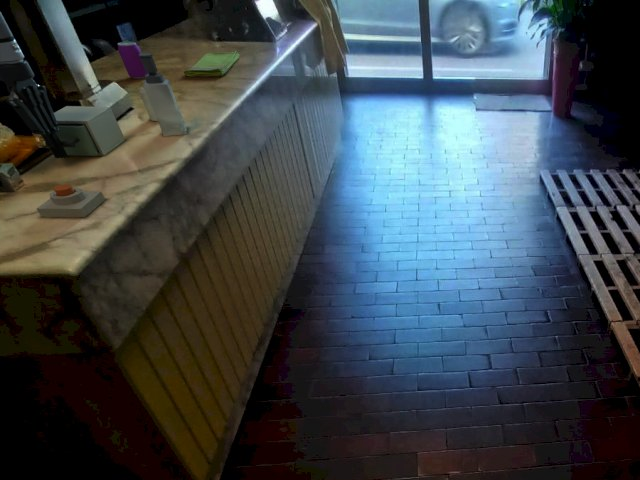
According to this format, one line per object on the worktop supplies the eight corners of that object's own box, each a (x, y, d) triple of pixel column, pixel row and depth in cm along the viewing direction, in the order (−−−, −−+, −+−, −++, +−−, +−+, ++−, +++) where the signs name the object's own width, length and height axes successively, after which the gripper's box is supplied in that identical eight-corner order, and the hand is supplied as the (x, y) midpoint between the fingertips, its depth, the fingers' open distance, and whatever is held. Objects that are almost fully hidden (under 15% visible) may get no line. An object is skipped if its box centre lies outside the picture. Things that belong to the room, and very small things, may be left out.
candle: (146, 120, 176) (132, 87, 169) (157, 115, 180) (144, 83, 173) (161, 121, 175) (148, 89, 168) (171, 117, 179) (159, 85, 172)
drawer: (88, 161, 147) (73, 132, 141) (46, 160, 146) (29, 131, 140) (116, 140, 159) (104, 113, 153) (78, 140, 158) (63, 112, 153)
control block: (85, 217, 125) (76, 201, 122) (41, 217, 124) (31, 201, 121) (105, 199, 132) (97, 184, 129) (64, 199, 131) (55, 184, 128)
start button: (70, 197, 124) (66, 190, 123) (54, 197, 124) (50, 190, 123) (78, 191, 127) (74, 184, 126) (62, 191, 126) (58, 184, 125)
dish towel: (184, 77, 215) (181, 68, 213) (206, 57, 241) (203, 49, 238) (223, 77, 218) (220, 68, 215) (241, 57, 243) (238, 49, 241)
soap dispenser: (186, 125, 173) (158, 49, 158) (186, 134, 168) (156, 56, 152) (165, 127, 171) (134, 50, 156) (163, 136, 166) (131, 57, 150)
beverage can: (145, 73, 217) (131, 40, 209) (154, 77, 214) (141, 43, 206) (126, 77, 212) (111, 43, 204) (135, 80, 209) (121, 46, 201)
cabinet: (104, 155, 152) (86, 121, 146) (59, 155, 151) (39, 120, 145) (125, 139, 162) (110, 106, 155) (83, 139, 161) (66, 106, 154)
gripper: (7, 67, 123) (62, 166, 140) (39, 55, 133) (88, 149, 149) (-27, 66, 123) (33, 166, 139) (8, 54, 132) (60, 148, 149)
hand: (61, 157), depth 144 cm, fingers closed
